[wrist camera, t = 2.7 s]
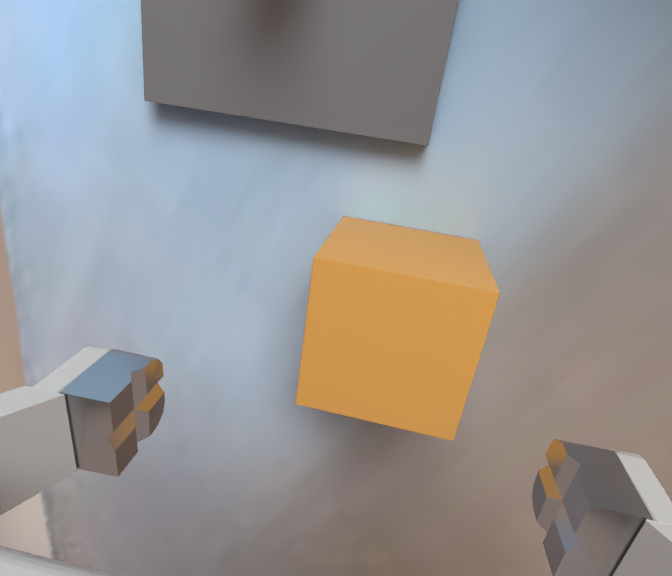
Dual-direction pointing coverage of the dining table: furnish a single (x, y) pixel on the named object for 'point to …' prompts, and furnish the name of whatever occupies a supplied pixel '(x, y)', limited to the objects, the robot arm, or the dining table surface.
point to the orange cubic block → (395, 326)
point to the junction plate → (302, 61)
